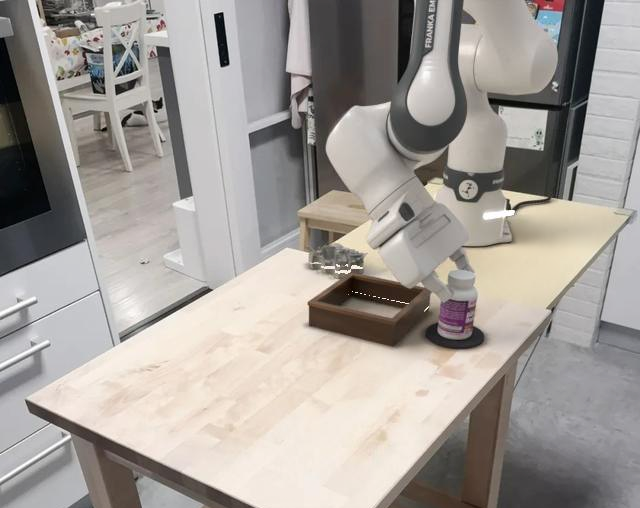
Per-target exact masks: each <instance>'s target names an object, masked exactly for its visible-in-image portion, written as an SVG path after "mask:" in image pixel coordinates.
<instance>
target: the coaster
mask: <svg viewBox="0 0 640 508" xmlns="http://www.w3.org/2000/svg"><path fill="white" fill-rule="evenodd" d="M425 337H426V339H427V340H428V341H429V342H430V343H432V344H434V345H436V346H438V347H442V348H446V349H453V350H468V349H473V348H476V347H478V346H480V345H481V344H483V343H484V341H485V334H484V332H483V331H482V330H481V329H480V328H479V327H476V326H474V325H473V330H472V334H471V336H470V337H468V338H466V339H463V340H451V339H447V338H444V337H442V336H441V335H440V334H439V333H438V322H435V323H432V324H431V325H428V327H427V328H426V329H425Z"/></svg>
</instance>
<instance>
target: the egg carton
mask: <svg viewBox="0 0 640 508" xmlns="http://www.w3.org/2000/svg"><path fill="white" fill-rule="evenodd" d="M304 249H307V251H309V252H308V268H309V269H310V270H315V269H317V270H320V272H321V273H322V274H326V275H328V274H331V275H334V276H333V277H334V279H336V280H337V279H338V280H340V279H341V278H343V277H344V276H346V275H347V274H345V273H340V274H338V273H335V270H336V271H340V270H347V271H348V270H350V269H351V266H352V265H357V266H360V267H363V269H351V272H353V273H358V274H363V273H364V263H365V261H364V259H365V257H367V255H368V254H369V253H368V252H365V253H363V252H359V251H356V249H355V248H352V249H351V248H349V247H346V246H344V245H342V244H341V243H338V242H334V243H330V244H328V245H326V244H324V245H323V246H322V247H321V246H318V247H317V249H316V250H315V249H314V248H313V247H311V246H309V245H305V246H304ZM309 262H311V263H314V262H319V263H321V264H310V263H309ZM336 264H338V265H340V267H337V266H336ZM346 264H348V267H347V266H345V265H346ZM321 266H324V267H325V266H335V269H324V268H321Z"/></svg>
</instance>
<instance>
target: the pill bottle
mask: <svg viewBox="0 0 640 508" xmlns="http://www.w3.org/2000/svg"><path fill="white" fill-rule="evenodd" d="M475 283H476V273H475V274H474V273H473V272H470V271H467V270H458V269H453V270H450V271H449V272H448V274H447V284H446V285H449V286H450V287H451V289H452V290H453V291H454V295H453V296H452V297H451V298H450V299H449V300H447V301H446V302H441V301H440V303H439V313H438V315H439V316H438V321H437V323H438V333H439V334H440V335H441V336H442V337H444V338H447V339H451V340H463V339H466V338H468V337H470V336H471V334H472V330H473V326H474V322H475V316H476V308H477V302H478V297H479V295H478V290H477V288H476V287H475Z"/></svg>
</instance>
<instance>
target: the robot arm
mask: <svg viewBox="0 0 640 508" xmlns="http://www.w3.org/2000/svg"><path fill="white" fill-rule="evenodd" d="M413 2H414V10H413V22H412V30H411V31H412V34H411V41H410V51H409V59H408V62H407V67H406V69H405V71H404V73H403V75H402V76H401V78H400V80H399V82H398V83H397V85H396V87H395V89H394V91H393V94H392V96H391V100H390V101H387V102H383V103H379V104H373V105H363V106H361V105H353V106H351V107H350V108H348V109H346V110H345V111H344V112H343V113H342V114H341V115H340V117H339V118H338V119H337V120H336V121H335V123H334V124H333V125H332V127H331V129H330V131H329V132H328V134H327V136H326V140H325V153H326V155H327V158H328V161H329V162H330V164H331V165H332V167H333V169H334V170H335V172H336V174H337V175H338V176H339V178H340V180H341V181H342V182H343V184H344V185H345V186H346V188H347V189H348V190H349V192H350V193H351V194H353V195H354V196H355V197H356V198H358V200H359V201H360V202H361V203H362V205H363V208H364V210H365V213H366V214H367V216H368V218H370V220H371V221H372V222H371V224H370V227H369V230H368V233H367V234H366V237H365V241H366V244H367V245H368V246H369V247H370V248H371V249H372V250H374V251H375V250H378V255H379V257H380V259H381V261H382V262H383V263H384V265H385V266H386V267H387V269H388V271H390V272H391V274H392V275H393V276H394V278H395V279H396V280H397V282H400V283H401V284H402V285H403V286H405V287H407V288H409V289H411V288H413V287H414V286H415V285H416V286H418V285H419V284H420V283H421V284H422V287H425V288H426V289H428V290H429V291H431V292H432V294H434V295H436V297H437V298H438V300H439V301H440V303H441V302H446V301H447V300H449V299H450V298H451V297H452V296H453V295H454V291H453V290H452V289H451V287H450V286H449V285H447V284H445V283H444V282H443V281H441V280H440V279H439V275H438V273H437V272H436V269H437V268H439V267H440V266H441V265H442V264H443V263H444V262H445V261H447V260H448V258H449V259H450V261H451V262H452V263H453V262H454V264H455V266H456V268H457V270H467V271H470V272H473V273H474V274H475V275H476V271H475V269H474V268H473V266H472V265H471V264H470V261H469V257H468V253H467V252H466V250H465V249H464V247H485V246H491V245H494V244H495V245H496V244H499V243H500V244H501V243H510V242H512V240H513V239H512V232H511V229H510V225H509V223H508V216H513V215H514V214H515V212H516V211H517V209H518V208H520V207H521V206H525V205H532V204H534V205H535V204H543V203H547V202H549V201H550V200H551V199H552V197H553V190H552V189H549V190H548V196H547V198H541V199H533V200H524V201H520V202H517V204H515V205H514V206H513V207H512V205H511V203H510V202H511V199H510V198H507V197H506V196H505V195H504V193H503V191H502V188H503V187H504V180H505V168H504V162H505V157H506V156H505V155H506V150H507V149H506V148H507V141H508V137H509V131H508V127H507V124H506V121H505V120H504V119H503V117H501V116H500V115H499V114H497V113H496V112H495V111H494V110H493V108H492V106H491V105H490V102H489V99H488V93H492V94H500V95H507V96H508V95H509V96H520V95H530V94H537V93H540V92H541V91H542V90H545V88H546V87H547V86H548V85H549V83H550V82H551V81H552V79H553V77H554V75H555V73H556V70H557V67H558V62H559V61H558V60H559V52H558V48H557V45H556V42H555V40H554V37H553V36H552V35H550V33H548V31H546V30H544V28H542V26H541V25H540V24H539V23H538V22H537V20H536V19H535V18H534V16H533V14H532V13H531V10H530V8H529V7H528V4H527V2H526V0H413ZM464 12H466V13H467V14H469V15H470V17H472V18H473V19H474V21H475V23H476V24H470V23H463V13H464ZM447 148H448V152H447V153H448V154H447V163H446V164H445V165H444V169H443V173H442V176H443V179H442V183H443V184H442V185H443V186H442V187H441V188H440V189H438V190H437V191H436V192H434V196H433V197H432V195H431V193H429V191H428V190H427V188H426V187H425V185H424V184H423V183H422V182H421V180H420V179H419V177H418V176H417V175H416V173H415V171H416V170H417V169H419V168H421V167H423V166H426V165H428V164H430V163H432V162H434V161H436V160H437V159H438V158H439V157H441V155H442V154H443V153H444V152H445V150H446V149H447Z"/></svg>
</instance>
